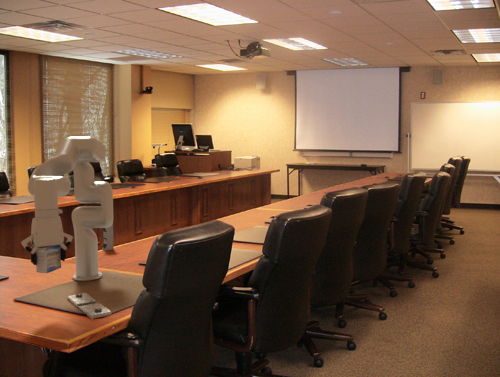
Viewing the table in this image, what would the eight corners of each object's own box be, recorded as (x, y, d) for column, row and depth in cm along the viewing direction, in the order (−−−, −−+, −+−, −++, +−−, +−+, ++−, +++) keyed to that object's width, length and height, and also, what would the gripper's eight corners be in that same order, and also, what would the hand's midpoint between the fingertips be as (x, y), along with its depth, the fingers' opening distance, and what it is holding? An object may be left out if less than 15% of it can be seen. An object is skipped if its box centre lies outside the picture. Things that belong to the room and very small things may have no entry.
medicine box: (46, 273, 177) (45, 248, 176) (36, 272, 178) (34, 248, 177) (61, 267, 184) (60, 244, 183) (51, 267, 186) (50, 243, 185)
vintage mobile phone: (102, 249, 284) (100, 204, 282) (110, 248, 288) (108, 204, 285) (105, 251, 282) (104, 205, 279) (113, 249, 285) (112, 204, 283)
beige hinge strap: (67, 299, 197) (67, 294, 197) (85, 295, 201) (85, 291, 201) (91, 319, 175) (91, 313, 175) (111, 314, 179) (111, 309, 179)
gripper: (68, 210, 187) (70, 256, 189) (17, 214, 177) (19, 263, 179) (75, 212, 181) (77, 260, 183) (22, 217, 171) (24, 268, 173)
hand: (48, 262), depth 181 cm, fingers closed on medicine box, 9 cm apart
